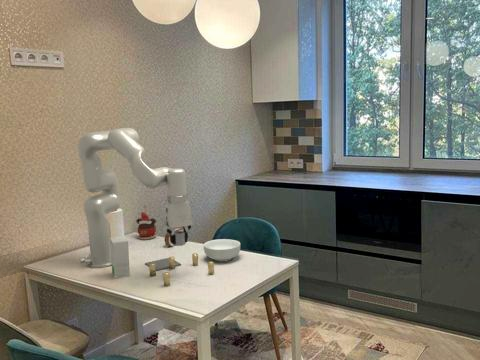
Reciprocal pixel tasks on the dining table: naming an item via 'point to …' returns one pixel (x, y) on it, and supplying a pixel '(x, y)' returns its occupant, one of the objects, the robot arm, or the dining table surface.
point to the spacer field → (172, 266)
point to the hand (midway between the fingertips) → (179, 242)
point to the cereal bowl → (222, 249)
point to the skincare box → (120, 256)
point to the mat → (162, 264)
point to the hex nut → (180, 238)
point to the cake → (146, 226)
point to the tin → (167, 237)
